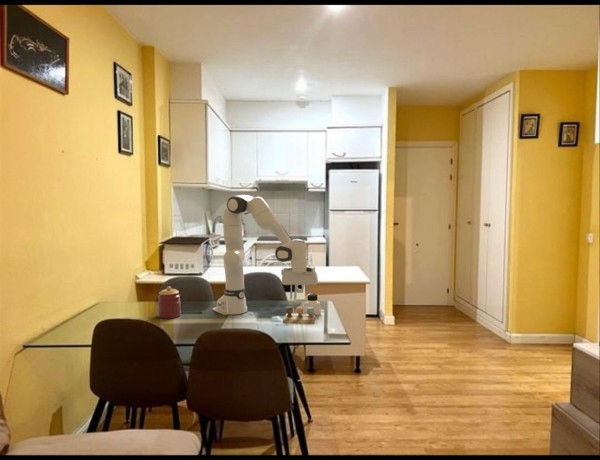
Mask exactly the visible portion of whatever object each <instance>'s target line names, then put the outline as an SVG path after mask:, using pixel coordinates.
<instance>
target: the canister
mask: <svg viewBox="0 0 600 460" xmlns="http://www.w3.org/2000/svg"><path fill="white" fill-rule="evenodd" d="M179 292H180V291H179V290H178V289H176V288H172V286H169V285H168V286H167V287H166V288H164V289H162V290H160V291H159V292H158V294H159V295H158V296H157V299H158V301H157V304H158V305H157V306H158V307H157V310H158V313H157V315H158V317H159V318H160V319H164V320H165V319H167V320H168V319H175V318H179V317H180V316H181V315H182V309H181V308H182V306H181V305H182V304H181V298H180V297H181V294H180V293H179Z"/></svg>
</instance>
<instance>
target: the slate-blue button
mask: <svg viewBox="0 0 600 460" xmlns="http://www.w3.org/2000/svg"><path fill="white" fill-rule="evenodd" d="M307 314H309V317H312V314H314V308H313V307H308V308H307Z"/></svg>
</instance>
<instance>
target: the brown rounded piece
mask: <svg viewBox="0 0 600 460" xmlns="http://www.w3.org/2000/svg"><path fill="white" fill-rule="evenodd" d="M285 313H286V314H287V313H288V316H289V317H290V316H291V313H294V306H290V305H289V306H286V307H285Z"/></svg>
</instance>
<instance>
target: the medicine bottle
mask: <svg viewBox="0 0 600 460" xmlns="http://www.w3.org/2000/svg"><path fill="white" fill-rule="evenodd" d="M306 299H307V300H306V302H304V303H303V311H304V313H303V314H307V308H308V307H313V308H314V314H316V316H318V315H319V316H320V315H321V313H322V309H321V308H322V307H321V306H322V305H321V302H320V301H318V294H316V293H308V294H307V296H306Z"/></svg>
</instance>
